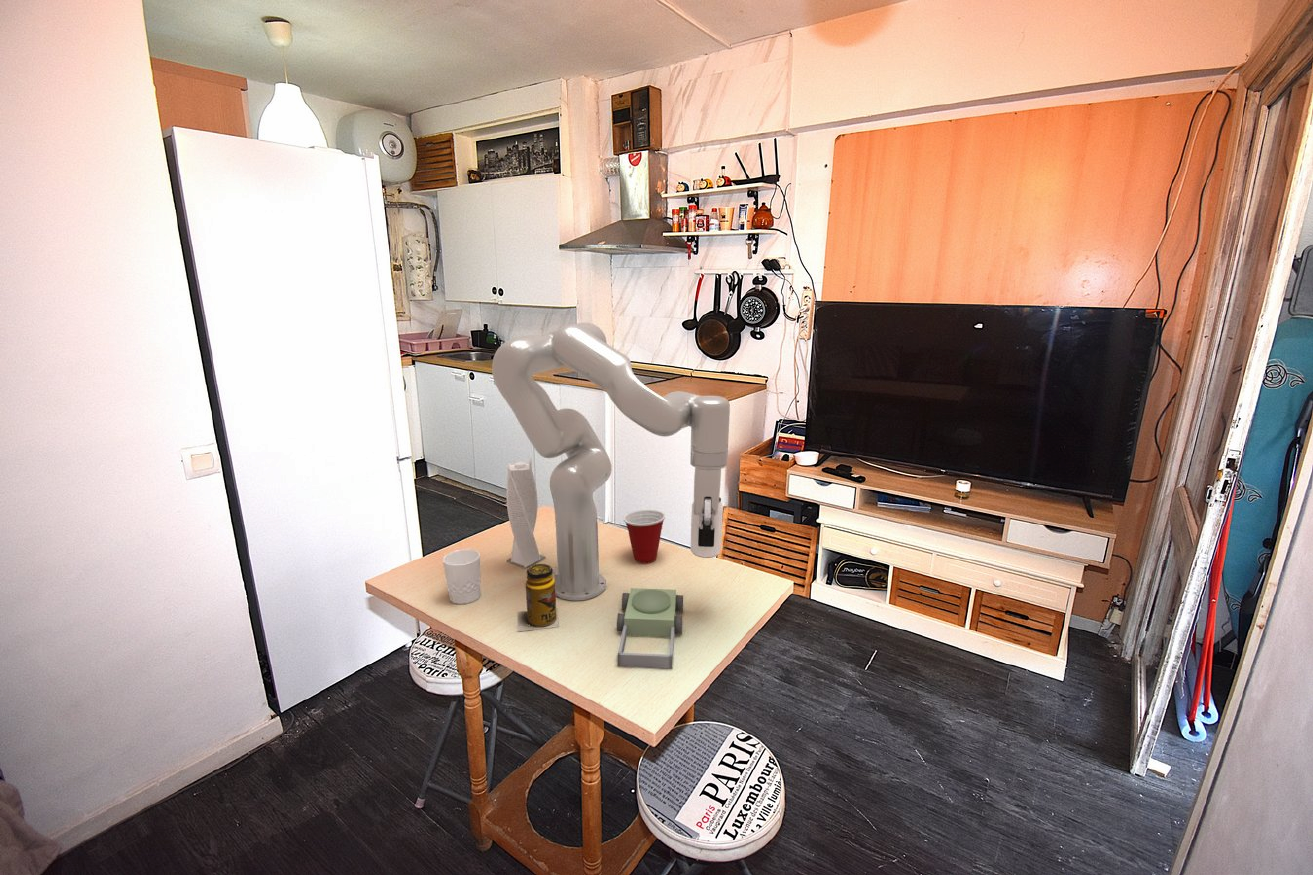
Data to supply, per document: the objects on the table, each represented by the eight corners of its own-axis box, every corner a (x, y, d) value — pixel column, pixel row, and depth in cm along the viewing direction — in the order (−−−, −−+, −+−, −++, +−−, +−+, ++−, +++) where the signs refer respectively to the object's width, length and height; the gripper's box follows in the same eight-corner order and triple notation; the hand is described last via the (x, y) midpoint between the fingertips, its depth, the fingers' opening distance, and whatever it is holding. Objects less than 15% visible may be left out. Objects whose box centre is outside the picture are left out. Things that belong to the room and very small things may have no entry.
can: (719, 560, 118) (721, 505, 115) (688, 556, 120) (689, 502, 117) (722, 546, 124) (724, 494, 121) (692, 543, 126) (694, 491, 123)
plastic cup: (639, 545, 157) (639, 504, 154) (673, 555, 151) (673, 513, 148) (615, 560, 148) (614, 517, 145) (649, 572, 143) (649, 527, 140)
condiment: (559, 627, 120) (557, 574, 117) (517, 632, 118) (514, 579, 115) (557, 608, 127) (554, 558, 124) (517, 613, 125) (514, 562, 122)
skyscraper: (549, 559, 149) (544, 455, 142) (526, 572, 142) (520, 464, 135) (526, 551, 153) (520, 450, 146) (503, 563, 147) (495, 458, 140)
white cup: (466, 584, 136) (463, 546, 134) (490, 593, 133) (487, 553, 130) (439, 600, 130) (435, 559, 127) (464, 609, 126) (460, 568, 123)
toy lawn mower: (609, 665, 108) (609, 642, 106) (623, 603, 128) (623, 583, 127) (680, 668, 107) (680, 645, 105) (683, 606, 127) (683, 585, 126)
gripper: (691, 445, 125) (689, 521, 130) (689, 469, 109) (686, 556, 113) (726, 446, 125) (722, 522, 129) (729, 471, 108) (725, 558, 113)
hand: (705, 537), depth 121 cm, fingers closed on can, 6 cm apart
